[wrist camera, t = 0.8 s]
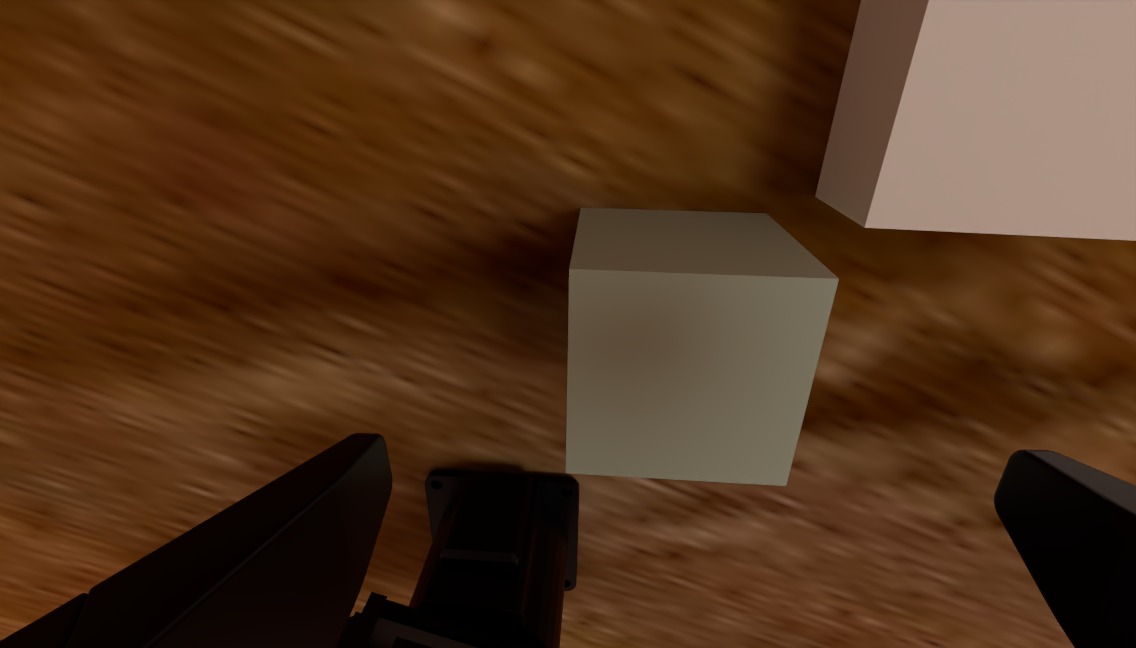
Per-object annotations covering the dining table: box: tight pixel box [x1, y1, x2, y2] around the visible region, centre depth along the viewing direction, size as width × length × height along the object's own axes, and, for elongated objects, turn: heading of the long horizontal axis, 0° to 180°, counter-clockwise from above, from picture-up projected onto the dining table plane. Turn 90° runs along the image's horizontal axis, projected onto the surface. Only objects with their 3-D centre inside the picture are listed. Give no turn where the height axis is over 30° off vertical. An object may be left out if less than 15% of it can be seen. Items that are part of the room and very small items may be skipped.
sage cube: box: [566, 208, 839, 486], centre depth 16 cm, size 6×6×6 cm
